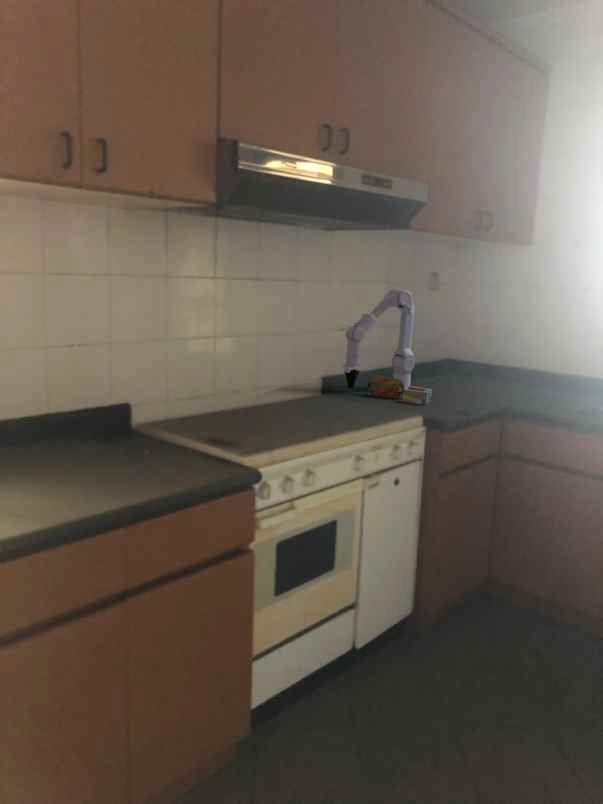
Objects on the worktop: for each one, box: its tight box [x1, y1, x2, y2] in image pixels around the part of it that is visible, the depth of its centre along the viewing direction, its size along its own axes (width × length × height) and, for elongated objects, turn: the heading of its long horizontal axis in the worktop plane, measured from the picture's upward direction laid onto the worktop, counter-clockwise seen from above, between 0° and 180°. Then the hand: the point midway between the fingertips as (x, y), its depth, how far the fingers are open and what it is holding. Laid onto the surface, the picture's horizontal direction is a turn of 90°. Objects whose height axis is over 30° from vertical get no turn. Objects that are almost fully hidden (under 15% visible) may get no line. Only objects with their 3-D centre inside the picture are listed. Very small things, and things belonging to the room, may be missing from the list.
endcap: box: [402, 385, 433, 406], centre depth 270 cm, size 10×10×5 cm
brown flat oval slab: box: [367, 376, 404, 400], centre depth 274 cm, size 15×3×8 cm, turn 73°
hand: (350, 387), depth 280 cm, fingers closed
